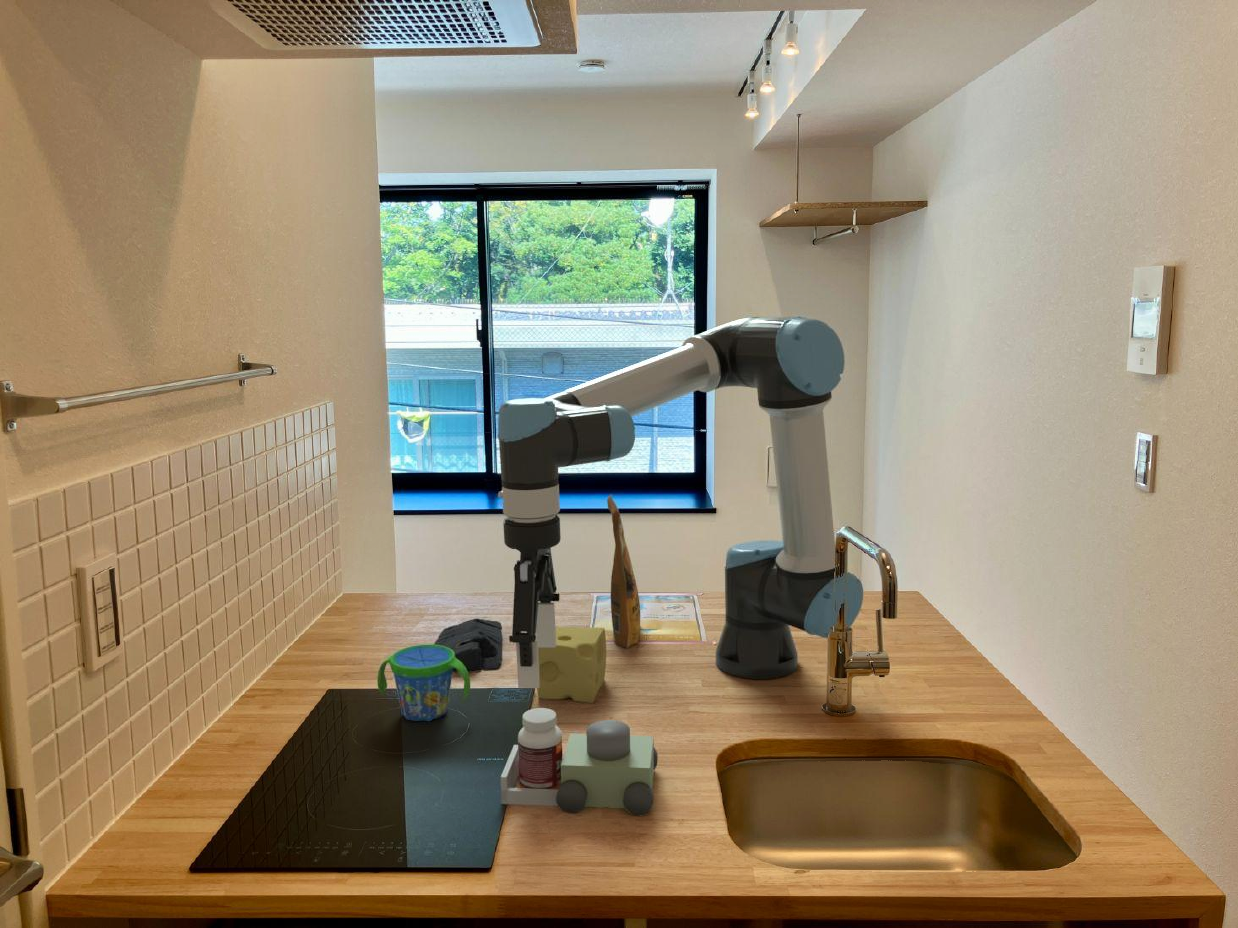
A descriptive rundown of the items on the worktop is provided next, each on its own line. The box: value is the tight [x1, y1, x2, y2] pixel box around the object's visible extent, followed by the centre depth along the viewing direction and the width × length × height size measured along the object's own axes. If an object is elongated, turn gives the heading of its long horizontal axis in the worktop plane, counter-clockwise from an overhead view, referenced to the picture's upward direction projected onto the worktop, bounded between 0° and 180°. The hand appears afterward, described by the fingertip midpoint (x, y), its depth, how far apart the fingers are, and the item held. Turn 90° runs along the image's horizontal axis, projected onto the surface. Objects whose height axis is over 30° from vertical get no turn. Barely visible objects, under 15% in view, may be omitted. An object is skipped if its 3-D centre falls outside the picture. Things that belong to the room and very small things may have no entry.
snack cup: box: [376, 644, 471, 722], centre depth 152 cm, size 16×10×10 cm
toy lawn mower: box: [500, 719, 659, 817], centre depth 128 cm, size 21×12×9 cm, turn 85°
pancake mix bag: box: [606, 493, 641, 649], centre depth 185 cm, size 7×19×28 cm, turn 178°
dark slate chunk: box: [433, 618, 504, 673], centre depth 180 cm, size 15×22×5 cm
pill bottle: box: [517, 707, 564, 789], centre depth 128 cm, size 6×6×11 cm
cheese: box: [536, 625, 607, 704], centre depth 160 cm, size 10×11×10 cm
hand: (538, 665), depth 126 cm, fingers open, 13 cm apart
